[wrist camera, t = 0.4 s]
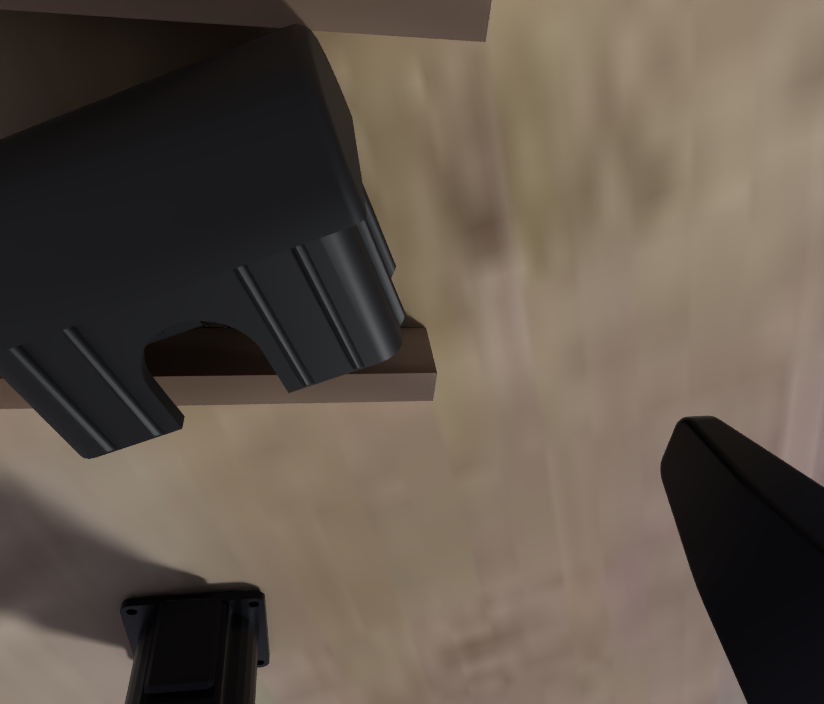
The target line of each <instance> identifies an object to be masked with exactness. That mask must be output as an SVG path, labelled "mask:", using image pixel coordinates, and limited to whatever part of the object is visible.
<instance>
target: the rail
mask: <svg viewBox="0 0 824 704" xmlns="http://www.w3.org/2000/svg"><path fill="white" fill-rule="evenodd" d="M491 1H492V0H0V10H14V11H29V12H44V13H59V14H74V15H89V16H104V17H119V18H134V19H149V20H164V21H179V22H194V23H209V24H225V25H240V26H255V27H270V28H285V27H287V26H290V25H292V24H301V25H303V26H305V27H307V28H309V29H310V30H315V31H330V32H345V33H360V34H375V35H390V36H405V37H420V38H435V39H450V40H465V41H480V42H486V35H487V28H488V21H489V14H490V7H491ZM400 329H401V334H402V345H401V347H400V349H399V350H398V351H397V352H396V354H395V355H393V356H392V357H391V358H389V359H388V360H385V361H383V362H381V363H378V364H375V365H372V366H369V367H366V368H363V369H360V370H357V371H354V372H351V373H348V374H345V375H342V376H339V377H336V378H333V379H330V380H327V381H324V382H321V383H318V384H315V385H312V386H309V387H306V388H303V389H300V390H297V391H294V392H291V393H288V392H287V390H286V388H285V387H284V385H283V384H282V382H281V380H280V379H279V377H278V376H277V374H276V372H275V371H274V369H273V368H272V366H271V364H270V363H269V361H268V360H267V358H266V356H265V355H264V353H263V352H262V350H261V349H260V348H259V346H258V345H257V344H256V343H255V342H254V341H253V340H252V339H251V338H249V337H248V336H247V335H245V334H244V333H242V332H240V331H239V330H237V329H235V328H193V329H191V330H188V331H185V332H182V333H179V334H176V335H173V336H170V337H168V338H165V339H162V340H159V341H156V342H153V343H150V344H148V345H146V346H145V348H144V356H145V362H146V365H147V367H148V370H149V371H150V373H151V374H152V376H153V377H154V379H155V380H156V381H157V383H158V384H159V385H160V386H161V388H162V389H163V390H164V391H165V393H166V394H167V395H168V396H169V398H170V399H171V400H172V401H173V403H174V404H175V405H176V406H179V405H230V404H282V403H334V402H386V401H433V397H434V390H435V383H436V377H437V371H436V367H435V363H434V359H433V354H432V350H431V346H430V342H429V338H428V334H427V330H426V328H400ZM23 408H32V407H31V406H30V405H29V404H28V403H27V402H26V401H25V400H24V399H23V398H22V397H21V396H20V395H19V394H18V393H17V392H16V391H15V390H14V389H13V388H12V387H11V386H10V385H9V384H8V383H7V382H6V381H5V380H4V379H3V378H2V377H1V376H0V409H23Z"/></svg>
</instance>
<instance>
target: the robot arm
mask: <svg viewBox="0 0 824 704" xmlns="http://www.w3.org/2000/svg"><path fill="white" fill-rule="evenodd" d="M661 478H662V482H663V485H664V488H665V491H666V494H667V497H668V501H669V504H670V507H671V510H672V513H673V516H674V519H675V522H676V526H677V529H678V532H679V535H680V538H681V541H682V544H683V548H684V551H685V554H686V557H687V560H688V563H689V566H690V569H691V572H692V575H693V578H694V581H695V583H696V586H697V589H698V591H699V594H700V596H701V598H702V601H703V603H704V606H705V608H706V610H707V612H708V615H709V617H710V619H711V621H712V624H713V626H714V628H715V631H716V633H717V635H718V637H719V640H720V642H721V644H722V646H723V649H724V651H725V653H726V656H727V658H728V660H729V662H730V665H731V667H732V669H733V671H734V674H735V676H736V678H737V681H738V683H739V685H740V687H741V690H742V692H743V694H744V696H745V699H746V701H747V703H748V704H824V487H823V486H821V485H820V484H818V483H817V482H815V481H814V480H812V479H811V478H809V477H807V476H806V475H804V474H803V473H801V472H800V471H798V470H797V469H795V468H794V467H792V466H791V465H789V464H787V463H786V462H784V461H783V460H781V459H780V458H778V457H777V456H775V455H774V454H772V453H770V452H769V451H767V450H766V449H764V448H763V447H761V446H760V445H758V444H757V443H755V442H754V441H752V440H750V439H749V438H747V437H746V436H744V435H743V434H741V433H740V432H738V431H737V430H735V429H733V428H732V427H730V426H729V425H727V424H726V423H724V422H723V421H721V420H720V419H718V418H716V417H713V416H692V417H684V418H682V419H681V420H679V421H678V422H677V424H676V426H675V429H674V431H673V433H672V436H671V438H670V441H669V443H668V446H667V448H666V450H665V453H664V455H663V458H662V461H661ZM120 614H121V617H122V620H123V623H124V626H125V629H126V632H127V635H128V638H129V642H130V645H131V648H132V651H133V654H134V661H133V666H132V671H131V676H130V681H129V686H128V691H127V696H126V701H125V704H255V695H256V677H257V668H258V667H264V666H267V665H268V664H269V657H270V653H269V641H268V628H267V616H266V604H265V595H264V593H262V592H260V591H241V592H225V593H209V594H192V595H176V596H160V597H144V598H130V599H126V600H124V601H123V602H122V606H121V610H120Z"/></svg>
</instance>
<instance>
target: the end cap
mask: <svg viewBox="0 0 824 704" xmlns="http://www.w3.org/2000/svg"><path fill="white" fill-rule="evenodd" d="M395 267H396V265H395V263H394V260H393V258H392V255H391V253H390V250H389V248H388V245H387V243H386V240H385V238H384V235H383V233H382V230H381V228H380V225H379V223H378V221H377V218H376V216H375V213H374V211H373V208H372V206H371V203H370V201H369V198H368V196H367V193H366V191H365V188H364V186H363V183H362V178H361V172H360V165H359V159H358V152H357V146H356V139H355V133H354V126H353V120H352V116H351V113H350V111H349V108H348V106H347V103H346V101H345V98H344V96H343V93H342V91H341V88H340V86H339V84H338V81H337V79H336V77H335V74H334V72H333V70H332V68H331V65H330V63H329V61H328V59H327V57H326V55H325V53H324V51H323V49H322V47H321V45H320V43H319V42H318V40H317V38H316V37H315V35H314V34H313V32H312V31H311V30H310V29H309V28H307V27H305V26H303V25H301V24H292V25H290V26H287V27H285V28H282V29H279V30H277V31H274V32H272V33H269V34H267V35H264V36H262V37H259V38H257V39H254V40H252V41H249V42H247V43H244V44H241V45H239V46H236V47H234V48H231V49H229V50H226V51H224V52H221V53H219V54H216V55H214V56H211V57H208V58H206V59H203V60H201V61H198V62H196V63H193V64H191V65H188V66H186V67H183V68H181V69H178V70H175V71H173V72H170V73H168V74H165V75H163V76H160V77H158V78H155V79H153V80H150V81H148V82H145V83H142V84H140V85H137V86H135V87H132V88H130V89H127V90H125V91H122V92H120V93H117V94H115V95H112V96H109V97H107V98H104V99H102V100H99V101H97V102H94V103H92V104H89V105H87V106H84V107H82V108H79V109H77V110H74V111H71V112H69V113H66V114H64V115H61V116H59V117H56V118H54V119H51V120H49V121H46V122H44V123H41V124H38V125H36V126H33V127H31V128H28V129H26V130H23V131H21V132H18V133H16V134H13V135H11V136H8V137H5V138H3V139H0V376H1V377H2V378H3V379H4V380H5V381H6V382H7V383H8V384H9V385H10V386H11V387H12V388H13V389H14V390H15V391H16V392H17V393H18V394H19V395H20V396H21V397H22V398H23V399H24V400H25V401H26V402H27V403H28V404H29V405H30V406H31V407H32V408H33V409H34V410H35V411H36V412H37V413H38V414H39V415H40V416H41V417H42V418H43V419H44V420H45V421H46V422H47V423H48V424H49V425H50V426H51V427H52V428H53V429H54V430H55V431H56V432H57V433H58V434H59V435H60V436H61V437H62V438H63V439H64V440H65V441H66V442H67V443H68V444H69V445H70V446H71V447H72V448H73V449H74V450H75V451H76V452H77V453H78V454H79V455H80V456H82V457H83V458H87V459H91V458H95V457H99V456H102V455H105V454H108V453H111V452H114V451H117V450H120V449H123V448H126V447H129V446H132V445H135V444H138V443H141V442H144V441H147V440H150V439H153V438H156V437H159V436H162V435H165V434H168V433H171V432H174V431H177V430H180V429H182V427H183V422H184V417H185V416H184V415H183V414H182V413H181V411H180V410H179V409H178V408H177V406H176V405H175V404H174V403H173V401H172V400H171V399H170V398H169V396H168V395H167V394H166V393H165V391H164V390H163V389H162V388H161V386H160V385H159V384H158V383H157V381H156V380H155V379H154V377H153V376H152V374H151V373H150V371H149V370H148V367H147V365H146V362H145V356H144V348H145V346H146V345H148V344H150V343H153V342H156V341H159V340H162V339H165V338H168V337H170V336H173V335H176V334H179V333H182V332H185V331H188V330H191V329H193V328H196V327H199V326H202V325H203V321H208V322H215V323H220V324H224V325H227V326H229V327H232V328H235V329H237V330H239V331H240V332H242V333H244V334H245V335H247V336H248V337H249V338H251V339H252V340H253V341H254V342H255V343H256V344H257V345H258V346H259V348H260V349H261V350H262V352H263V353H264V355H265V356H266V358H267V360H268V361H269V363H270V364H271V366H272V368H273V369H274V371H275V372H276V374H277V376H278V377H279V379H280V380H281V382H282V384H283V385H284V387H285V388H286V390H287V392H288V393H291V392H294V391H297V390H300V389H303V388H306V387H309V386H312V385H315V384H318V383H321V382H324V381H327V380H330V379H333V378H336V377H339V376H342V375H345V374H348V373H351V372H354V371H357V370H360V369H363V368H366V367H369V366H372V365H375V364H378V363H381V362H383V361H385V360H388V359H389V358H391V357H392V356H393V355H395V354H396V352H397V351H398V350H399V349H400V347H401V345H402V334H401V329H400V325H401V323H402V322H403V320H404V317H405V311H404V309H403V306H402V304H401V302H400V299H399V297H398V294H397V292H396V290H395V287H394V285H393V282H392V280H391V277H392V275H393V273H394V271H395Z"/></svg>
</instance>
